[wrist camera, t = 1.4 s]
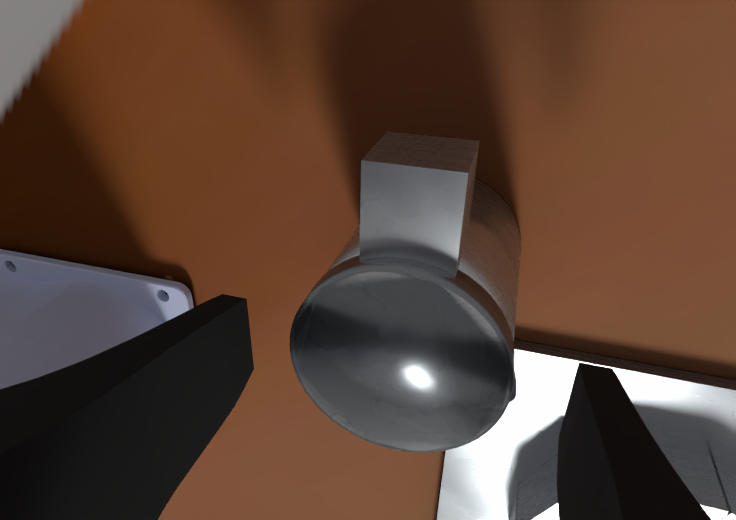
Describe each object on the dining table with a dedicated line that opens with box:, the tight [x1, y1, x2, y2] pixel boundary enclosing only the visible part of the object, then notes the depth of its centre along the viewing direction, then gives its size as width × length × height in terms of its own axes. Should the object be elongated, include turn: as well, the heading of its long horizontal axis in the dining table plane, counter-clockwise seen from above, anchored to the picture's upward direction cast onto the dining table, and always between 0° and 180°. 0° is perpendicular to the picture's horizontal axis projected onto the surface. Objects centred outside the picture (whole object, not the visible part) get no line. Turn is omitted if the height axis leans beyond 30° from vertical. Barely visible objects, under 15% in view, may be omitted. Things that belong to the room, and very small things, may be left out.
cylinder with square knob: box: [290, 131, 521, 452], centre depth 14 cm, size 5×7×6 cm
